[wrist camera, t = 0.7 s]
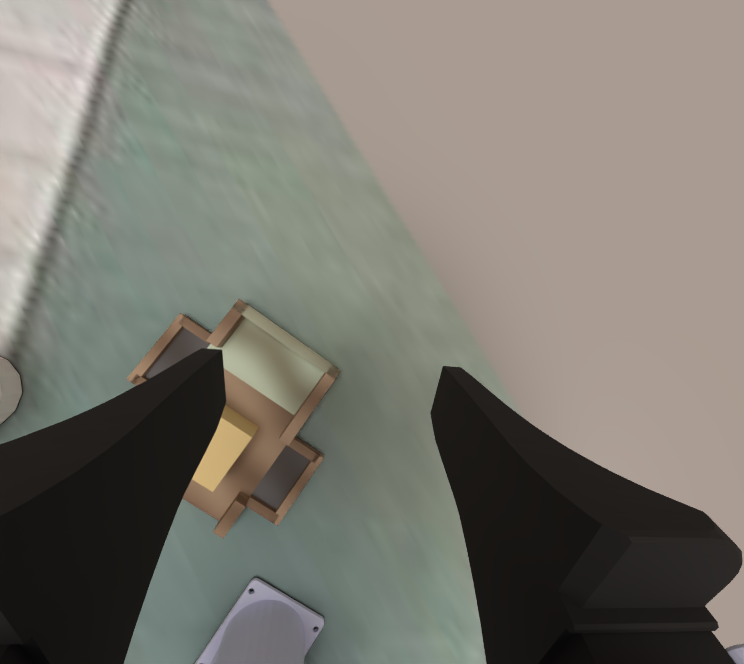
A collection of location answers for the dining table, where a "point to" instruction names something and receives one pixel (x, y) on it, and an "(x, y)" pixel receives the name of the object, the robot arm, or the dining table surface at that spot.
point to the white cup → (8, 389)
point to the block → (224, 448)
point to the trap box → (253, 408)
